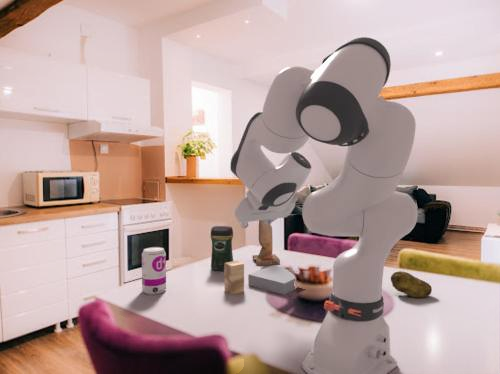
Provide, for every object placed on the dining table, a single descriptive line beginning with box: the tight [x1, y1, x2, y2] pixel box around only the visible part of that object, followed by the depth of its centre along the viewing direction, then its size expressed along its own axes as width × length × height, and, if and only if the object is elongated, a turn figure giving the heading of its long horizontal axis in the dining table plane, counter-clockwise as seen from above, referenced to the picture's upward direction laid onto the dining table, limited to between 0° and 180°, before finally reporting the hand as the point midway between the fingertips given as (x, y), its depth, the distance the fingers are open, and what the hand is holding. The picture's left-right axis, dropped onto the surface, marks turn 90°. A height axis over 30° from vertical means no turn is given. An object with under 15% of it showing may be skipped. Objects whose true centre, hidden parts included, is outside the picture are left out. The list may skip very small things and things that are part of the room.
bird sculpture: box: [252, 220, 281, 266], centre depth 162 cm, size 11×12×32 cm
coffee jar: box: [209, 225, 234, 272], centre depth 152 cm, size 10×8×19 cm
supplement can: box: [141, 246, 167, 296], centre depth 125 cm, size 8×8×15 cm
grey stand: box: [248, 264, 300, 296], centre depth 133 cm, size 16×16×4 cm
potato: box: [390, 270, 432, 298], centre depth 121 cm, size 8×13×8 cm, turn 63°
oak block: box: [224, 260, 245, 295], centre depth 125 cm, size 5×5×10 cm
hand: (255, 224), depth 114 cm, fingers open, 8 cm apart
